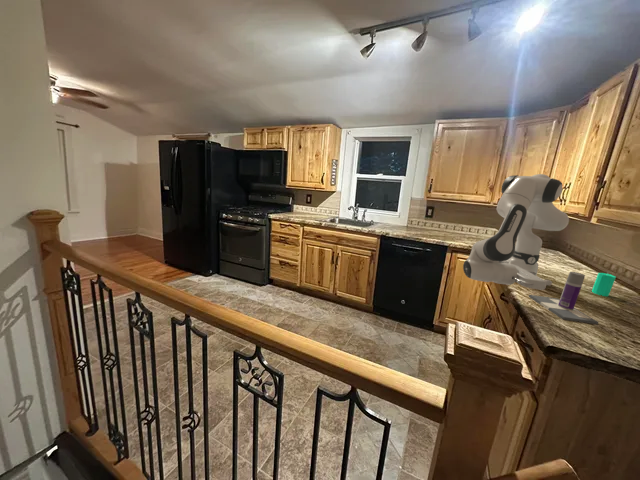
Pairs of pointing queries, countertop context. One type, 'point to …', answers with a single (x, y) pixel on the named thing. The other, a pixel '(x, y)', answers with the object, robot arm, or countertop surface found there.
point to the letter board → (562, 310)
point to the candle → (603, 284)
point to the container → (571, 290)
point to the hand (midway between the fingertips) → (542, 278)
